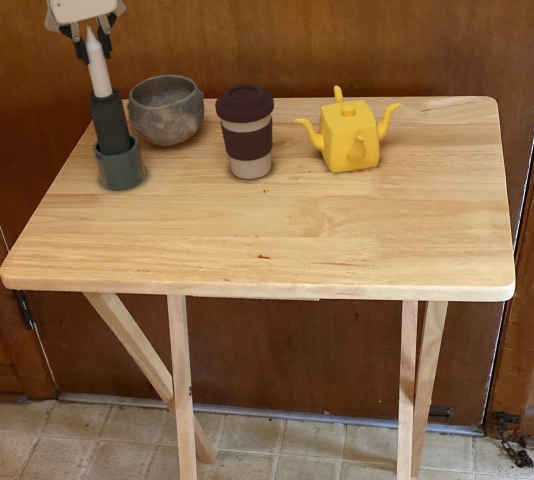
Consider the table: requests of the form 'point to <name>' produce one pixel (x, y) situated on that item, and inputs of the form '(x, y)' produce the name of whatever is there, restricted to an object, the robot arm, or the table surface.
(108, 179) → the cup
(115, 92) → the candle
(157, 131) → the bowl
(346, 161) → the teapot
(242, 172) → the coffee cup
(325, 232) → the table surface
